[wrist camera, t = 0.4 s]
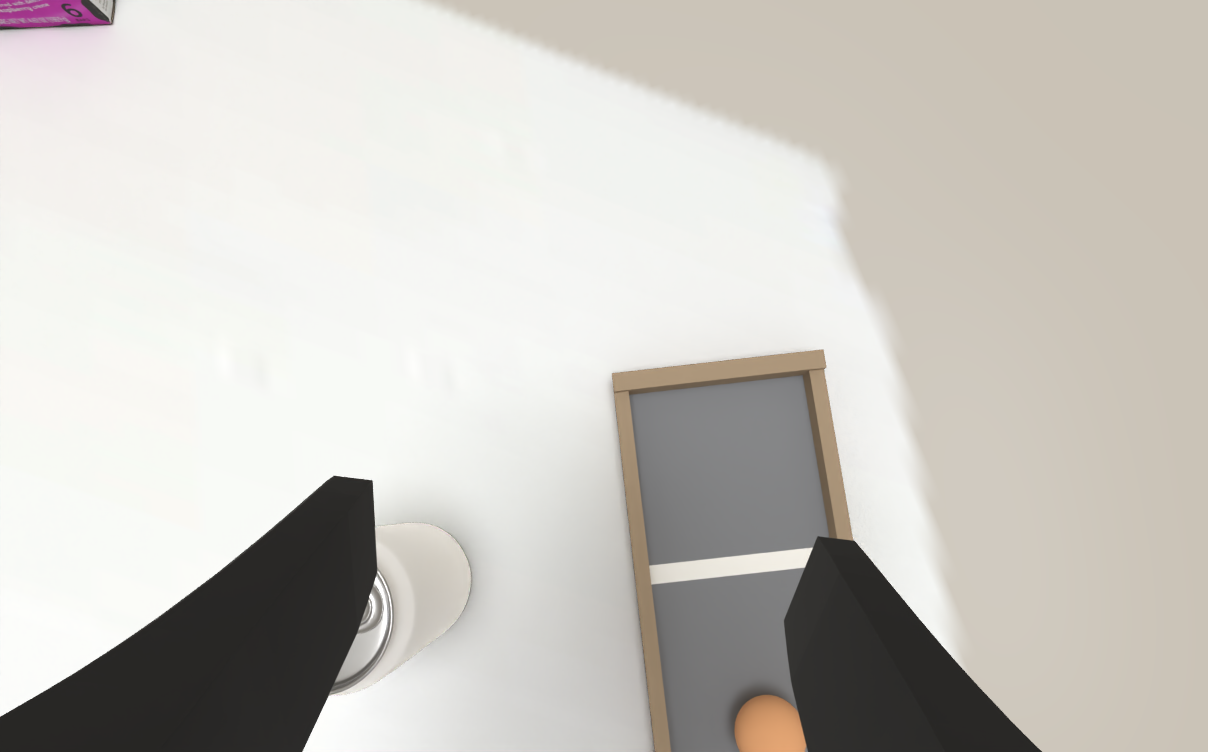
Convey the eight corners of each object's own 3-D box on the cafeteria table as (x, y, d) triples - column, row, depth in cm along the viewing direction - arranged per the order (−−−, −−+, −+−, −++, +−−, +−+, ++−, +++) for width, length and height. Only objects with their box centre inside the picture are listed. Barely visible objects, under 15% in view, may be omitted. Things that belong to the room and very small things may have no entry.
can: (487, 619, 37) (424, 676, 26) (375, 658, 37) (258, 733, 25) (455, 506, 38) (379, 510, 27) (345, 543, 38) (221, 563, 26)
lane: (897, 873, 35) (918, 902, 32) (671, 897, 35) (675, 928, 32) (810, 358, 39) (823, 349, 37) (612, 380, 39) (612, 373, 37)
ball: (801, 754, 35) (820, 782, 32) (734, 761, 35) (746, 790, 32) (791, 683, 36) (808, 702, 32) (725, 690, 36) (735, 710, 32)
